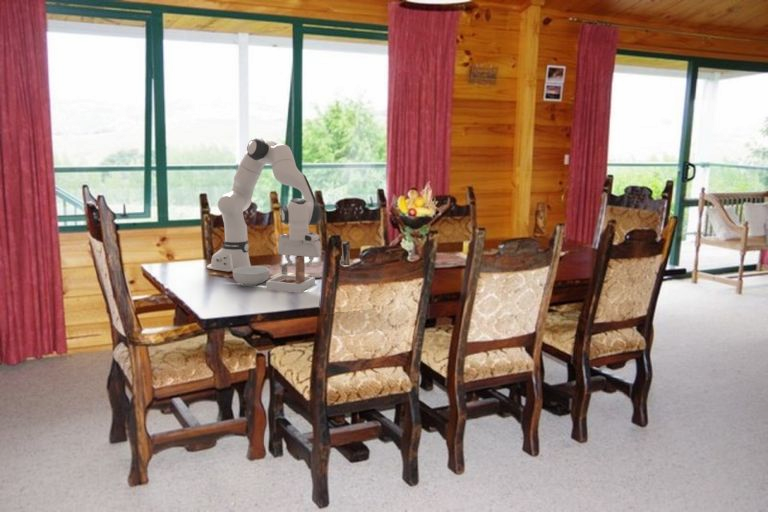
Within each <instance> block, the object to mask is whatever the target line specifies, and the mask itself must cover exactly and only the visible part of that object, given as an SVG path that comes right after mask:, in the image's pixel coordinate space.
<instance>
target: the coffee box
mask: <svg viewBox="0 0 768 512" xmlns="http://www.w3.org/2000/svg"><path fill="white" fill-rule="evenodd" d="M341 241H342V256H341V264H342V265H351V264H350V262H351V261H350V251H351V250H350V241H349V240H348V241H344V240H341Z"/></svg>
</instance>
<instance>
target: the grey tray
mask: <svg viewBox="0 0 768 512" xmlns="http://www.w3.org/2000/svg"><path fill="white" fill-rule="evenodd" d="M284 278H286V279H296V276H294V275H283V274H282V275H279V276H277V277H275V278H271V279H267V280H266V281H265V282H266V283H265V286H266V287H265V288H266V290H268V291H279V292H289V293H296V294H297V293H298V294H301V293H304V292H305V291H307V288H309V287H312V286H313V285H316V277H314V276H307V277H305V281H304V282H302V283H300V284H295V283H285V282H277V281H280V280H282V279H284Z"/></svg>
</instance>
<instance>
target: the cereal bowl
mask: <svg viewBox="0 0 768 512" xmlns="http://www.w3.org/2000/svg"><path fill="white" fill-rule="evenodd" d="M269 277H270V269H269V267H267V266H264V265H251V266H244V267H238V268H235V269H233V271H232V278H233V280H234V281H235V282H236V283H238V284H241V285H243V286H244V287H256V286H258V285H260V284H262V283H264V282H266V281H268V280H269Z"/></svg>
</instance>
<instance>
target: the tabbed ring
mask: <svg viewBox="0 0 768 512" xmlns="http://www.w3.org/2000/svg"><path fill="white" fill-rule="evenodd" d="M294 257H295V260H294V261H295V273H296V279H286V278H284V279H282V280H280V281H277V282H285V283H295V284H300V283H302V282H304V281H305V274H306V273H305V272H306V271H305V270H306V269H305V266H306V265H305V257H304V256H294Z"/></svg>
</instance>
